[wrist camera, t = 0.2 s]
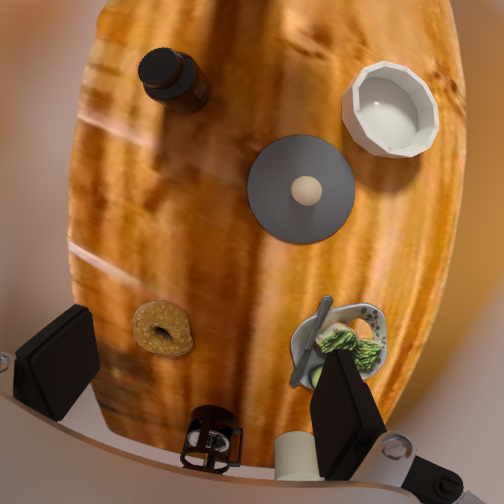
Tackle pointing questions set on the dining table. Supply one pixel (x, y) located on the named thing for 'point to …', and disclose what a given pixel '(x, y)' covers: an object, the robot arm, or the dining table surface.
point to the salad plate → (337, 341)
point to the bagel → (168, 319)
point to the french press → (211, 439)
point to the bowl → (390, 111)
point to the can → (296, 457)
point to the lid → (301, 189)
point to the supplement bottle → (174, 80)
